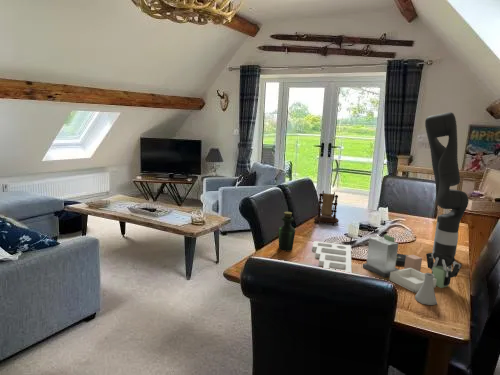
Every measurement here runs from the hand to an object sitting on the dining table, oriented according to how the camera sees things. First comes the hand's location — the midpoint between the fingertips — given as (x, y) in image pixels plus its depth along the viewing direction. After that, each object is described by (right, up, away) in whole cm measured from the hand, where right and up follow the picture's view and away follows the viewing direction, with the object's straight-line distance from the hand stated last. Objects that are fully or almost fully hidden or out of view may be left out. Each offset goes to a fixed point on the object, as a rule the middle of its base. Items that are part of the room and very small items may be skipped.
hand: (440, 282), depth 148 cm
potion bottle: (-58, +8, +32) cm, 67 cm away
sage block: (0, -1, 0) cm, 1 cm away
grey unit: (-19, +2, +12) cm, 22 cm away
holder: (-40, +4, +17) cm, 44 cm away
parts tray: (-11, 0, 0) cm, 11 cm away
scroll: (-28, +15, +85) cm, 91 cm away
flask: (-12, -3, -14) cm, 19 cm away
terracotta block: (-6, +1, +11) cm, 13 cm away
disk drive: (-9, +3, +24) cm, 26 cm away
